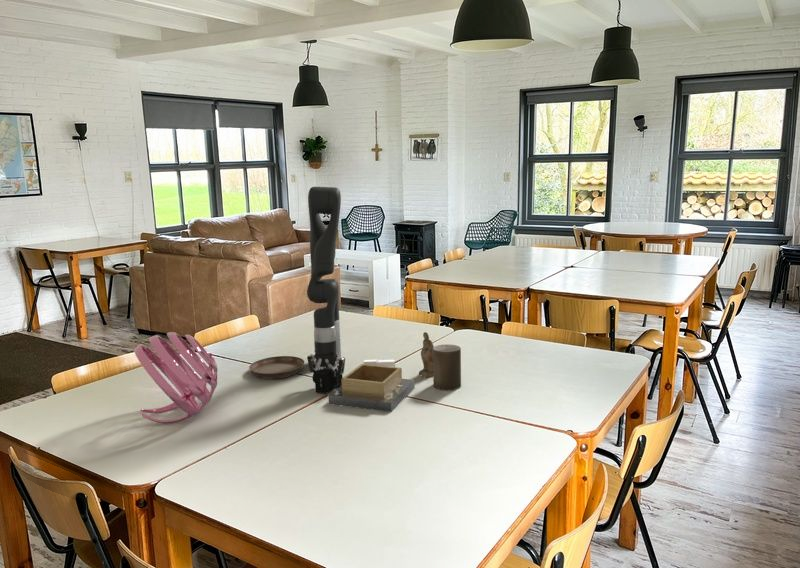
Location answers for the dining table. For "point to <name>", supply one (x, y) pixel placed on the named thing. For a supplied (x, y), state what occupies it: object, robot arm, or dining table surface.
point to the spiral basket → (179, 373)
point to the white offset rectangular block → (380, 362)
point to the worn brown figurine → (427, 356)
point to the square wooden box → (372, 388)
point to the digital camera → (325, 380)
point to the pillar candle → (447, 367)
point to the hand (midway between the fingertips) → (327, 384)
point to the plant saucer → (277, 367)
